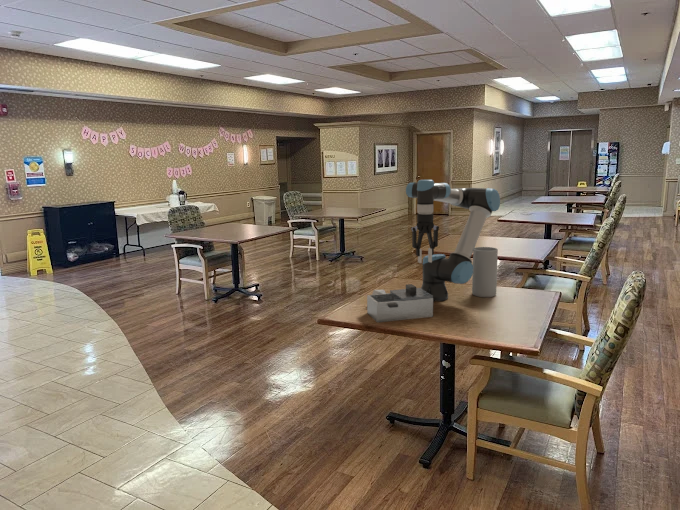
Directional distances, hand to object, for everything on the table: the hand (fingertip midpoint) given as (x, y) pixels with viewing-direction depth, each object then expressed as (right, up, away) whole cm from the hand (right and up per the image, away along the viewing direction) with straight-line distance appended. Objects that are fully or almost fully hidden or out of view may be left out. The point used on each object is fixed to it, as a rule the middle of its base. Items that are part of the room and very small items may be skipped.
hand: (424, 262), depth 246 cm
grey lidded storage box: (-12, -25, +2) cm, 28 cm away
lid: (-6, -16, +1) cm, 17 cm away
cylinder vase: (+37, -18, +34) cm, 54 cm away
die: (-20, -22, +18) cm, 35 cm away
